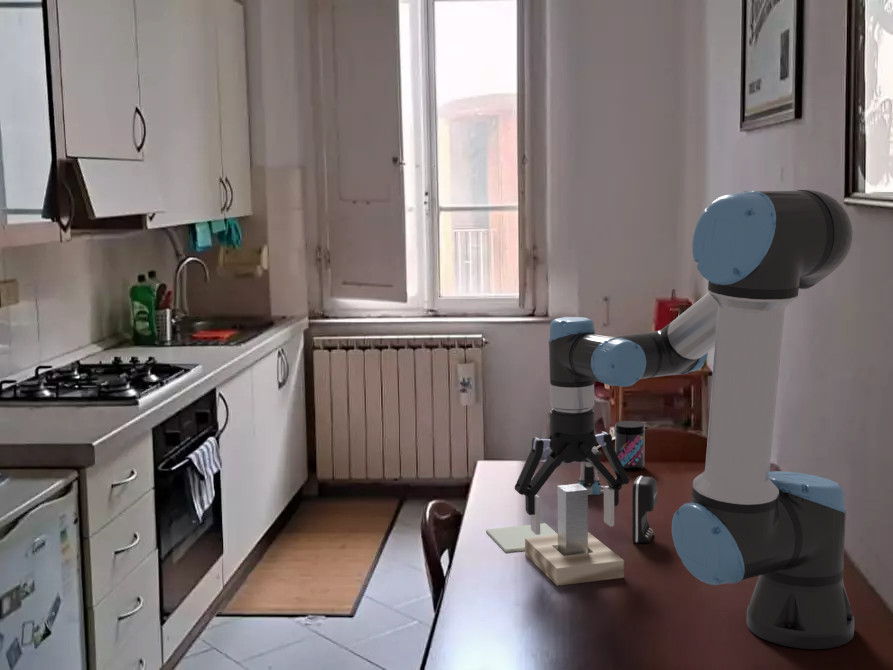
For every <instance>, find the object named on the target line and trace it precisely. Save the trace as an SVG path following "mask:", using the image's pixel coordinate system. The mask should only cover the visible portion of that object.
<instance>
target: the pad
mask: <svg viewBox="0 0 893 670" xmlns="http://www.w3.org/2000/svg"><path fill="white" fill-rule="evenodd" d="M485 532H486V534H487V535H488V536H489V537H490V538H491V539H492V540H493V541H494V542H495V543H496V544H497V545H498V546H499V547H500V548H501V549H502V550H503V551H504V552H505V553H511V552H520V551H525V538H531V537H540V536H549V535H558V532H556V531H555V530H554V529H553V528H551V526H549V525H548V524H547V523H546V522H543V523H540V534H539V535H536V534H535V533H534V532H533V531H532V530H531V524H525V525H514V526H505V527H498V528H488V529H485Z"/></svg>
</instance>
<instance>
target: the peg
mask: <svg viewBox="0 0 893 670" xmlns="http://www.w3.org/2000/svg"><path fill="white" fill-rule="evenodd" d="M556 489H557V494H556V495H557V534H558V551H559V552H560V553H561V554H562V555H563V556H568V555H576V554H585V553H588V532H589V511H588V510H589V501H588V500H589V495H588V490H587V489H586V488H585V487H583V486H582V485H580V484H578V483H572V484H571V483H570V484H560V485H557V488H556Z"/></svg>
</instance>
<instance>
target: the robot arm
mask: <svg viewBox="0 0 893 670" xmlns="http://www.w3.org/2000/svg"><path fill="white" fill-rule="evenodd" d="M695 224H696V226H695V227H694V232H693V237H692V242H691V243H692V245H691V246H692V247H691V249H692V257H693V261H694V262H696V263H697V265H696V268H697V270H698V272H699V273H700V275H701V276H702V277H703V278H704V279H705V280H707V281H708V283H707V293H706V294H705V295H703V296H702V297H701V298H700V299H698V300H697V301H696V302H694V304H692V305H690V307H688V308H686V310H685V311H684V312H683V311H682V313H681V314H679V316H676V318H675V319H674V320H672V321H671V322H670V323H668V324H667V325H666V326H664V327H663V328H662V329H660V330H655V331H647V332H640V333H639V332H638V333H630V334H628V333H627V334H621V335H619V334H618V335H602V334H597V333H596V330H595V324H594V321H593V320H592V319H591V318H588V317H584V316H566V317H565V316H564V317H558V318H555V319H553V320H551V322H550V325H549V339H548V350H549V352H548V355H549V357H548V358H549V359H548V361H549V405H550V407H551V409H550V410H549V431H550V432H549V433H550V434H549V436H548V438H539V437H538V436H534V437H533V438H532V440H531V450H530V452H529V453H528V454H529V455H528V457H527V459H526V461H525V463H524V465H523V467H522V470H521V472H520V474H519V476H518V479H517V480H516V483H515V484H514V491H516V492H517V493H518V494H519V495H522V496H525V500H524V501H525V512H526V513H527V514H528V515H529V516H530V525H531V530H532V531H533V532H534V533H535V534H536V535H539V534H540V524H541V497H540V496H539V495H537V494H538V493H539V491H540V490H541V488H543V486H544V485H545V483H546V482H547V480H549V478H550V477H551V476H552V474H553V473H554V471H555V470H556V469H557V468H558V467H559V466H560V465H561V464H562V463H565V464H571V463H572V462H573V463H574V462H578V463H581V462H583V460H585V459H587V460H588V461H589V462H590V464H591V465H592V466H593V467H594V470H595V469H596V470H597V472H598V474H599V475H600V476H601V477H602V479H603V480H604V481H605V482H606V483H607V484H608V485H603V486H604V487H603V490H604V492H603V523H605V524H606V525H608V527H614V526H615V507H618V506H619V503H620V501H619V499H620V496H619V495H620V490H622V487H623V486H624V485H628V484H629V483H630V478H629V476H628V474H627V471H625V470H624V468H623V466H622V464H621V462H620V460H619V458H618V456H617V454H616V452H615V446H614V444H613V436H612V434H610V433H608V432H607V431H605V430H603V431H600V433H598V434H595V410H594V408H593V407H594V406H595V382H599V383H601V384H604V385H608V386H610V387H620V388H628V387H631V386H633V385H635V384H636V383H637V382H638V381H640V380H644V379H650V378H659V377H665V376H667V377H669V376H676V375H686V374H688V373H691V372H696V371H699V370H700V369H702V367H704V365H705V362H706V360H707V358H708V355H709V352H710V351H712V350H714V354H713V355H714V356H713V365H712V366H713V367H712V379H711V389H710V390H711V393H710V405H709V418H708V429H707V430H708V431H707V439H706V440H707V443H706V445H707V446H706V454H705V467H704V471H702V473H700V474H699V475H697V476H696V477H695V478H694V479H693V481H692V489H691V502H685V503H683V504H682V505H681V506H680V507H678V509H677V510H675V512H674V513H673V516H672V520H671V535H672V541H673V545H674V549H675V550H676V554H677V556H678V557H679V558H680V560H681V562H682V564H683V566H684V567H685V568H686V570H687V571H688V572H689V573H690V574H691V575H692V576H694V577H695V579H697V580H698V581H700V582H702V583H704V584H707V585H711V586H712V585H713V586H720V585H724V584H737V583H739V582H741V581H744V580H747V579H751V578H755V577H758V579H757V581H756V584H755V586H754V589H753V592H752V595H751V598H750V600H749V601H750V602H749V603H748V605H747V609H746V625H747V627H748V629H749V631H751V633H753V634H754V635H755V636H757V637H759V638H760V639H763V640H764V641H766V642H767V641H768V642H770V643H773V644H776V645H780V646H784V647H789V648H794V649H803V650H805V649H806V650H822V649H824V650H825V649H833V648H837V647H840V646H843V645H846V644H847V643H849V642H850V641H852V640H853V638H854V636H855V616H854V613H853V610H852V607H851V604H850V601H849V598H848V595H847V591H846V587H845V585H844V558H845V557H844V556H845V555H844V554H845V536H846V534H845V532H846V514H847V509H846V493H845V491H844V488H843V487H842V486H841V485H840V484H839V483H838V482H836V481H834V480H831V479H829V478H825V477H822V476H818V475H815V474H814V475H813V474H809V473H802V472H795V471H781V470H780V471H779V470H777V471H776V470H775V471H771V460H772V459H771V458H772V447H773V438H774V427H775V417H776V415H775V414H776V408H777V407H776V405H777V395H778V385H779V375H780V363H781V354H782V342H783V341H782V340H783V333H784V332H783V330H784V320H785V310H786V309H787V307H789V306H790V304H792V303H794V301H796V300H797V299H798V297H799V291H804V290H805V291H806V290H809V289H810V288H812V287H814V286H815V285H817V284H819V283H820V282H821V281H823V280H825V278H827V277H828V276H829V275H831V274H832V273H833V272H834V271H836V270H837V269H838V268H839V267H840V266H841V265H842V263H843V262H844V261H845V259H846V258H847V256H848V254H849V253H850V250H851V247H852V243H853V233H854V232H853V226H852V222H851V219H850V215H849V214H848V212H847V211H846V209H845V208H844V207H843V205H842V204H841V203H840V202H839V201H838V200H837V199H835V198H833V197H832V196H831V195H829V194H826V193H824V192H822V191H817V190H813V189H796V190H761V191H758V190H752V191H751V190H750V191H748V190H745V191H743V192H735V193H729V194H724V195H722V196H720V197H717V198H716V199H715V200H713V201H712V202H711V203H710V205H709V206H708V207H706V208H705V209H703V211H702V213H701V215H700V216H699V218H698V219H697V222H696V223H695ZM596 444H598V445H599V446H601V448H602V450H603V452H604V454H605V456H606V458H607V461H608V462H609V465H610V466H611V469H612V471H613V473H614V474H615V476H616V477H615V476H614V475H613V474H612V473H611V472H610V471H609V469H608V468H607V467H606V466H605V465H604V464H603V462H601V460H600V461H599V459H598V458H597V457H596V455H595V454H594V453H593V452H592V451H591V450H592V449H593V447H594V446H596ZM548 447H549V448H550V449H551V451H550V453H549V454H548V455H547V457H546V459H545V461H544V462H543V464H542V465H541V467H540V468H539V469H538V470H537V468H538V466H539V464H540V461H541V460H542V457H543V453H544V452H546V450H547V448H548ZM536 470H537V472H536ZM534 474H535V475H534Z"/></svg>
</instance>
